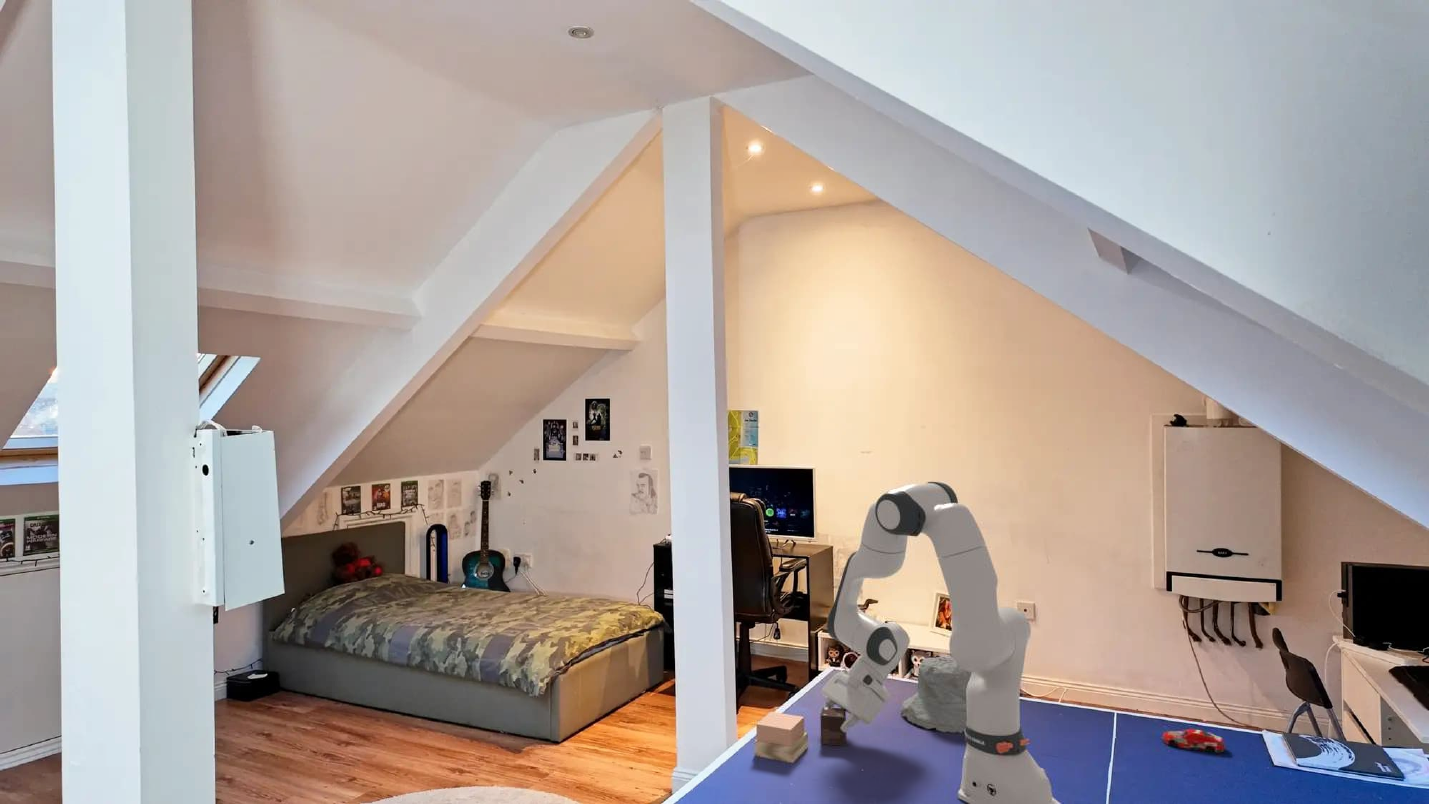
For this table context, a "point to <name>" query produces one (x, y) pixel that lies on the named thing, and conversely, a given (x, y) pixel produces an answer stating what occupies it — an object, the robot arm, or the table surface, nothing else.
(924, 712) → the hat
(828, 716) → the box
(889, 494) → the robot arm
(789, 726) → the tower top
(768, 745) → the tower base
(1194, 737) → the race car
